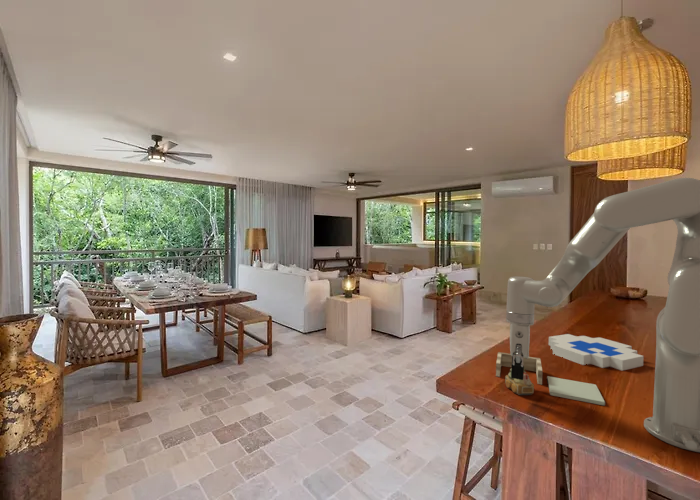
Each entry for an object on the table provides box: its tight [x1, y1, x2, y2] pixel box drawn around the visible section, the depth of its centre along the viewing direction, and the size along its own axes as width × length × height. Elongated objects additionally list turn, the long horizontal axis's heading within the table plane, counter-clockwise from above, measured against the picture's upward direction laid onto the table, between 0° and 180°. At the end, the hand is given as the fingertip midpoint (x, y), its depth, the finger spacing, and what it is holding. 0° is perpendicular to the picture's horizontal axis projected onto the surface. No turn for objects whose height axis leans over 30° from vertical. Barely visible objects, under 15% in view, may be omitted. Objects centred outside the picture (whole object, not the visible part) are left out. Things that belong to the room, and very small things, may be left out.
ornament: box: [504, 368, 535, 396], centre depth 99 cm, size 8×6×10 cm
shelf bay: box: [495, 351, 543, 385], centre depth 112 cm, size 12×13×4 cm
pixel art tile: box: [548, 333, 645, 371], centre depth 129 cm, size 28×4×28 cm
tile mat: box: [546, 375, 606, 406], centre depth 99 cm, size 12×13×1 cm
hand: (517, 372), depth 100 cm, fingers open, 9 cm apart
